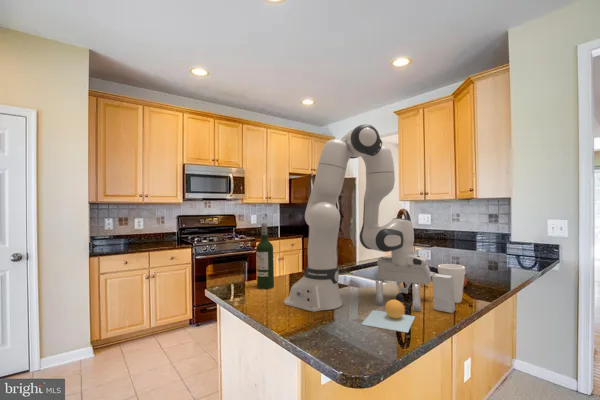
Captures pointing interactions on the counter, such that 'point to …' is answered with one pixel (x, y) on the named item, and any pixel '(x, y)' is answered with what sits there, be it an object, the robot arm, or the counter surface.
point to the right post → (416, 297)
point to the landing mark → (389, 321)
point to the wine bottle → (265, 261)
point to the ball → (394, 309)
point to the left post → (379, 292)
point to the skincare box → (443, 293)
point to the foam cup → (454, 278)
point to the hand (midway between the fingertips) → (403, 292)
